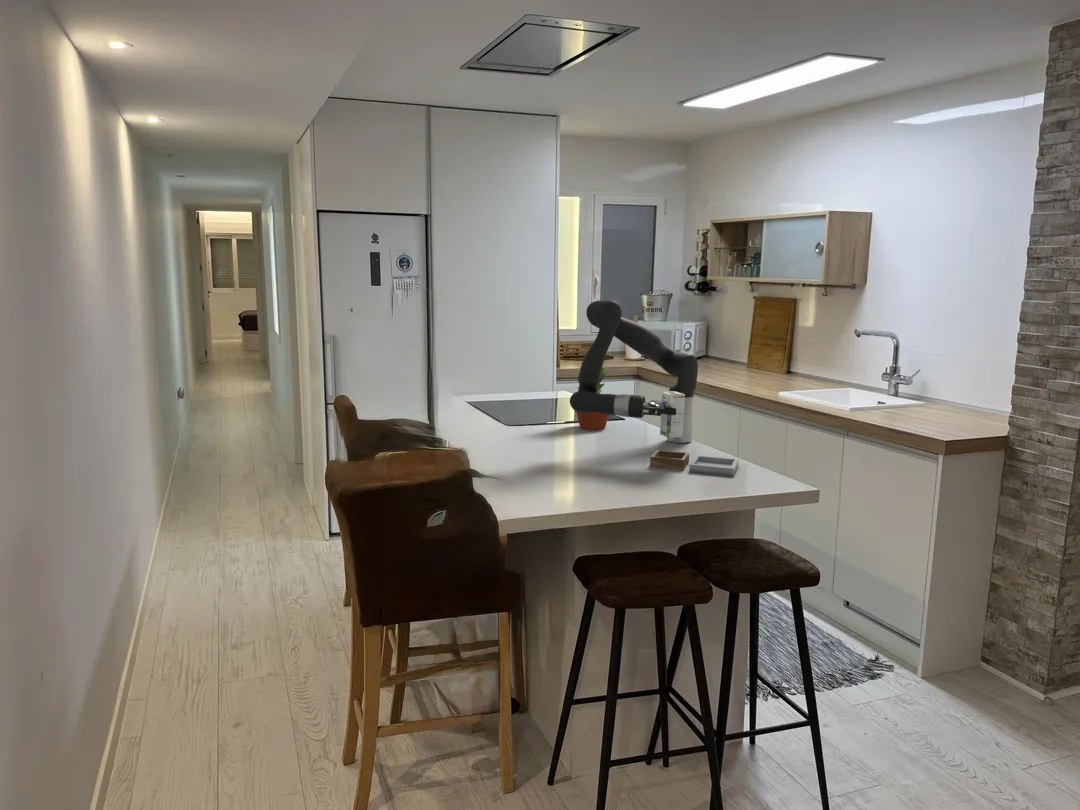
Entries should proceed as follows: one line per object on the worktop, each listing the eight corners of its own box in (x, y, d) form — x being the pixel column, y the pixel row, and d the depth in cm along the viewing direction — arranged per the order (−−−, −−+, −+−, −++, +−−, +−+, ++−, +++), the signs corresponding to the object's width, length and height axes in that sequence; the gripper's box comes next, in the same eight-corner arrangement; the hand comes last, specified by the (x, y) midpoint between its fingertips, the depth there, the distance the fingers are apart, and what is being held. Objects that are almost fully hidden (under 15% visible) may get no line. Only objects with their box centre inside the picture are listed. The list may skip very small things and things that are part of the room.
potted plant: (616, 426, 332) (618, 353, 327) (601, 433, 319) (604, 356, 313) (583, 422, 339) (585, 351, 333) (567, 429, 325) (569, 354, 320)
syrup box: (659, 434, 269) (660, 391, 266) (674, 433, 271) (676, 390, 268) (667, 438, 264) (669, 394, 261) (683, 437, 266) (685, 393, 263)
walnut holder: (656, 459, 276) (656, 449, 275) (688, 462, 272) (689, 452, 272) (649, 467, 266) (650, 456, 265) (683, 470, 262) (684, 459, 261)
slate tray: (695, 462, 273) (696, 455, 273) (738, 466, 269) (738, 458, 268) (689, 472, 260) (689, 464, 260) (733, 476, 256) (734, 468, 255)
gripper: (624, 398, 263) (675, 401, 258) (634, 391, 276) (682, 394, 271) (624, 420, 265) (674, 424, 259) (634, 413, 278) (681, 416, 273)
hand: (678, 409), depth 265 cm, fingers closed on syrup box, 8 cm apart
